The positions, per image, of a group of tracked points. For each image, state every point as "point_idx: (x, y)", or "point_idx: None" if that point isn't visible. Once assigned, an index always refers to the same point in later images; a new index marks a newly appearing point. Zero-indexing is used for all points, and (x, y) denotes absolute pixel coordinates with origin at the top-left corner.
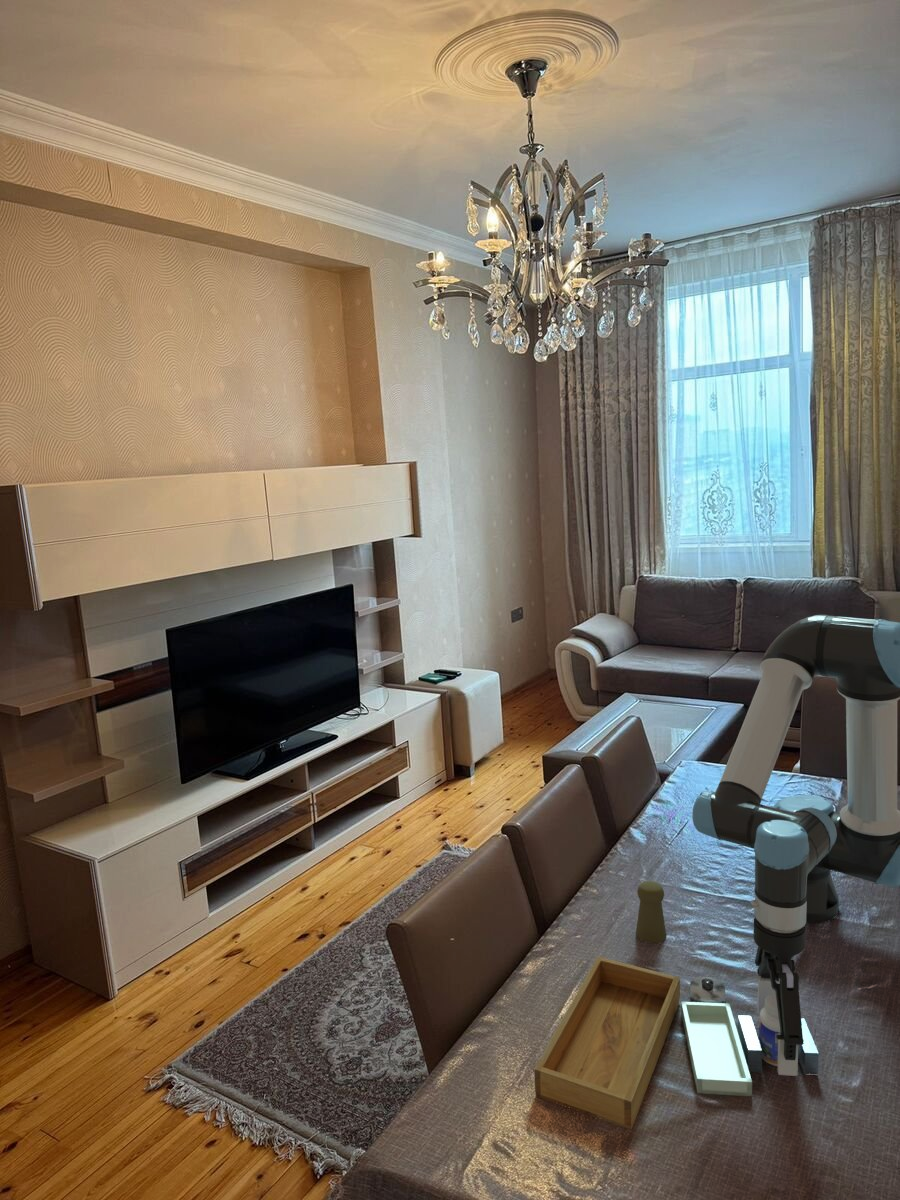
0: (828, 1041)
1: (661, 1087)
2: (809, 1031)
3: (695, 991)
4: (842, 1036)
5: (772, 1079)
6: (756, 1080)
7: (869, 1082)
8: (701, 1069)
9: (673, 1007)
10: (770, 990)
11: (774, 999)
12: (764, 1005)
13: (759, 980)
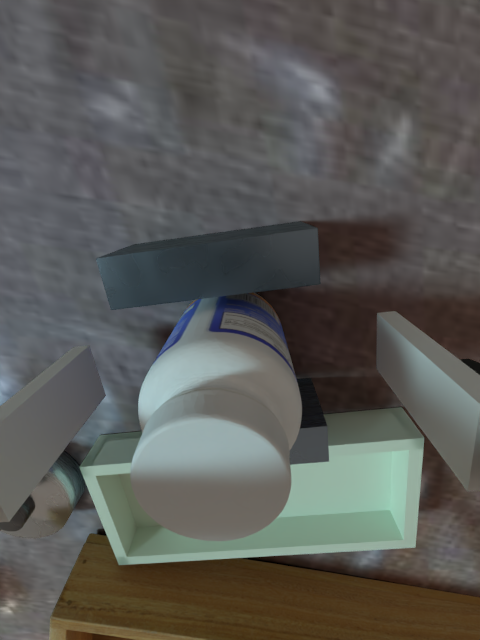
0: (111, 154)
1: (382, 561)
2: (180, 247)
3: (53, 528)
4: (63, 91)
5: (331, 353)
6: (340, 391)
7: (305, 20)
8: (330, 506)
9: (147, 576)
10: (27, 431)
11: (190, 502)
12: (78, 402)
13: (8, 520)
